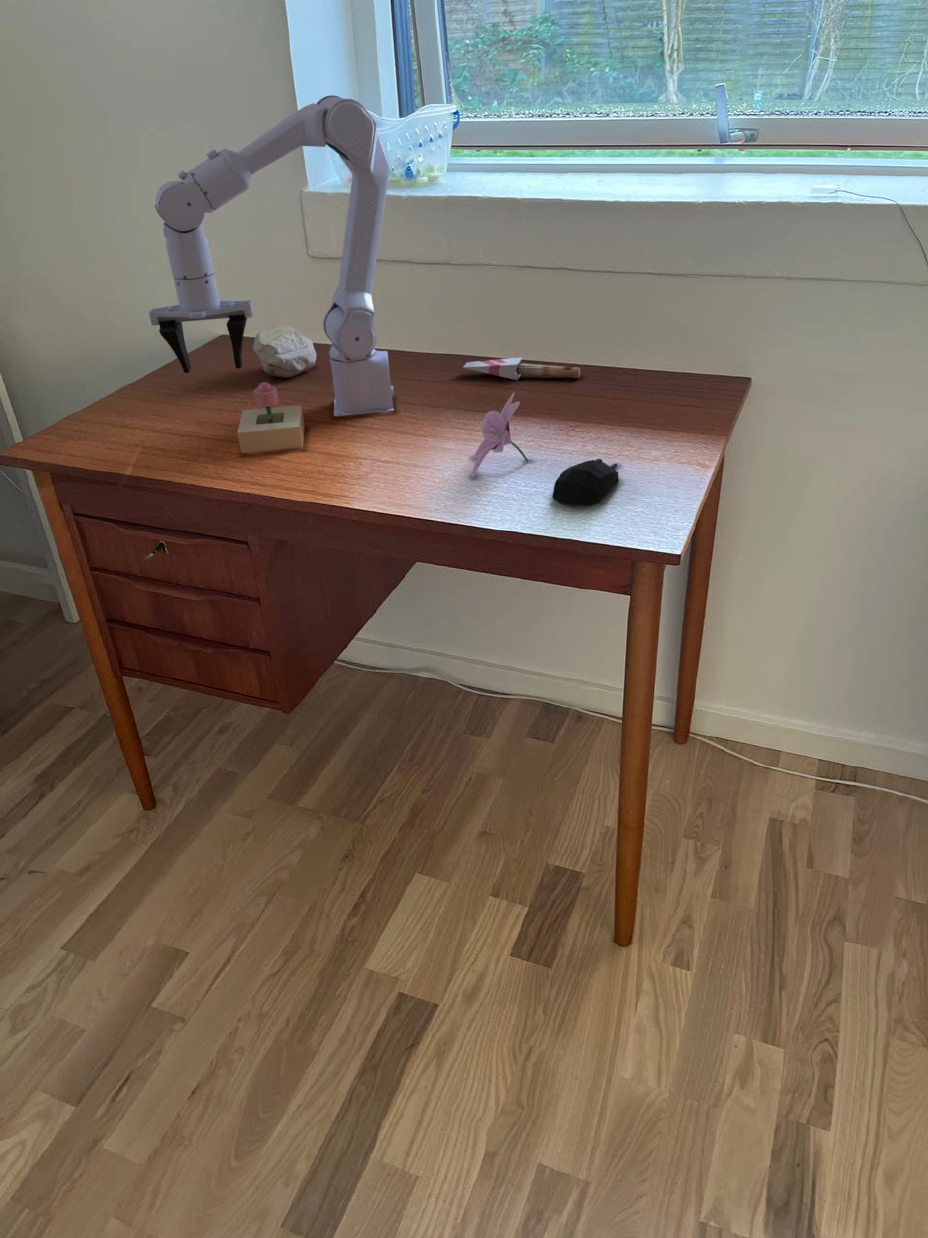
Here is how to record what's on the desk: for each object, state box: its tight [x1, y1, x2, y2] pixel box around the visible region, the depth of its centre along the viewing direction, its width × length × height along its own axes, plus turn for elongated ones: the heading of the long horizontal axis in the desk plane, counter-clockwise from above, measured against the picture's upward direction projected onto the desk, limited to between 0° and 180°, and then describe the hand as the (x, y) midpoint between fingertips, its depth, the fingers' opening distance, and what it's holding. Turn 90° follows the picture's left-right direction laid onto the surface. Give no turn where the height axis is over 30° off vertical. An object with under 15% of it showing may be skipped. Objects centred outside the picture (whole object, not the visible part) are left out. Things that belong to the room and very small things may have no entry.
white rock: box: [252, 324, 317, 379], centre depth 165 cm, size 12×8×10 cm
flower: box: [253, 381, 280, 423], centre depth 137 cm, size 3×4×9 cm
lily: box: [471, 391, 529, 479], centre depth 127 cm, size 12×12×10 cm
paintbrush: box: [462, 356, 581, 381], centre depth 158 cm, size 4×3×20 cm
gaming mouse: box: [551, 458, 620, 508], centre depth 120 cm, size 6×15×4 cm, turn 147°
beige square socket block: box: [236, 404, 306, 454], centre depth 139 cm, size 9×9×4 cm
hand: (213, 368), depth 139 cm, fingers open, 7 cm apart
